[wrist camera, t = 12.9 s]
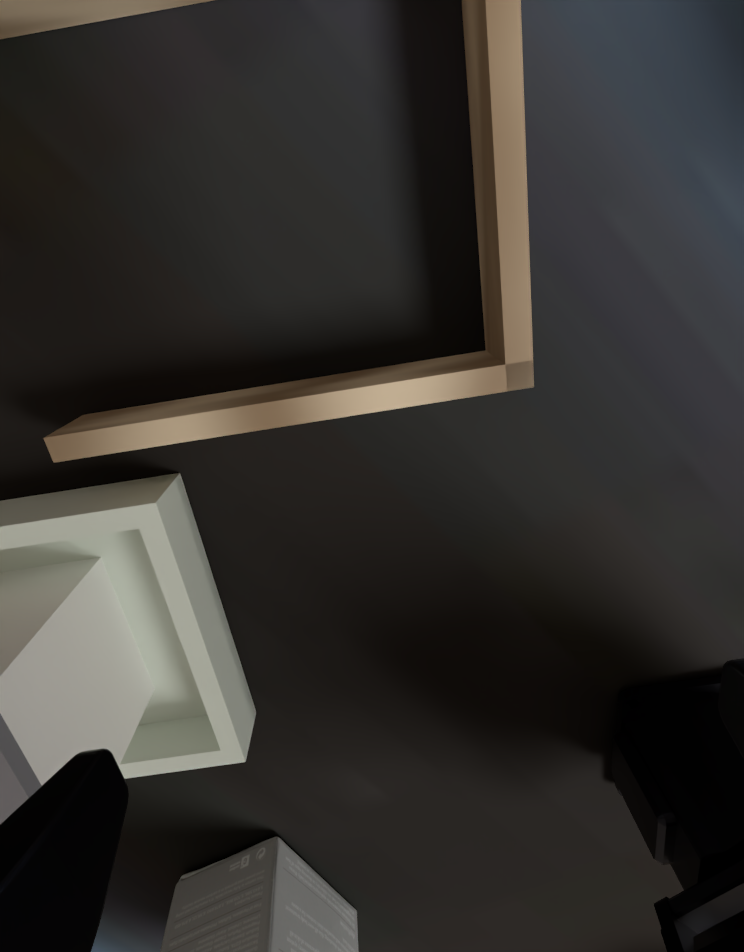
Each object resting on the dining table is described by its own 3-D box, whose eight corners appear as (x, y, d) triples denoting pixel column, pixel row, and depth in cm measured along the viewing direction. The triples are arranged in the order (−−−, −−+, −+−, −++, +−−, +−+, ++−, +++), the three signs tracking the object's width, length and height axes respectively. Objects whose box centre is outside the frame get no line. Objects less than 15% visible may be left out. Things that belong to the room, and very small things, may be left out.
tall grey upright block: (100, 557, 19) (-26, 706, 13) (155, 688, 22) (71, 869, 15) (-15, 574, 20) (-197, 731, 13) (52, 703, 22) (-74, 888, 16)
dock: (487, -91, 13) (515, -164, 11) (510, 370, 18) (534, 387, 16) (-70, 11, 14) (-155, -38, 11) (91, 436, 18) (53, 462, 16)
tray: (179, 472, 19) (155, 502, 17) (256, 711, 23) (245, 761, 21) (-131, 521, 19) (-197, 557, 17) (2, 747, 24) (-35, 800, 21)
